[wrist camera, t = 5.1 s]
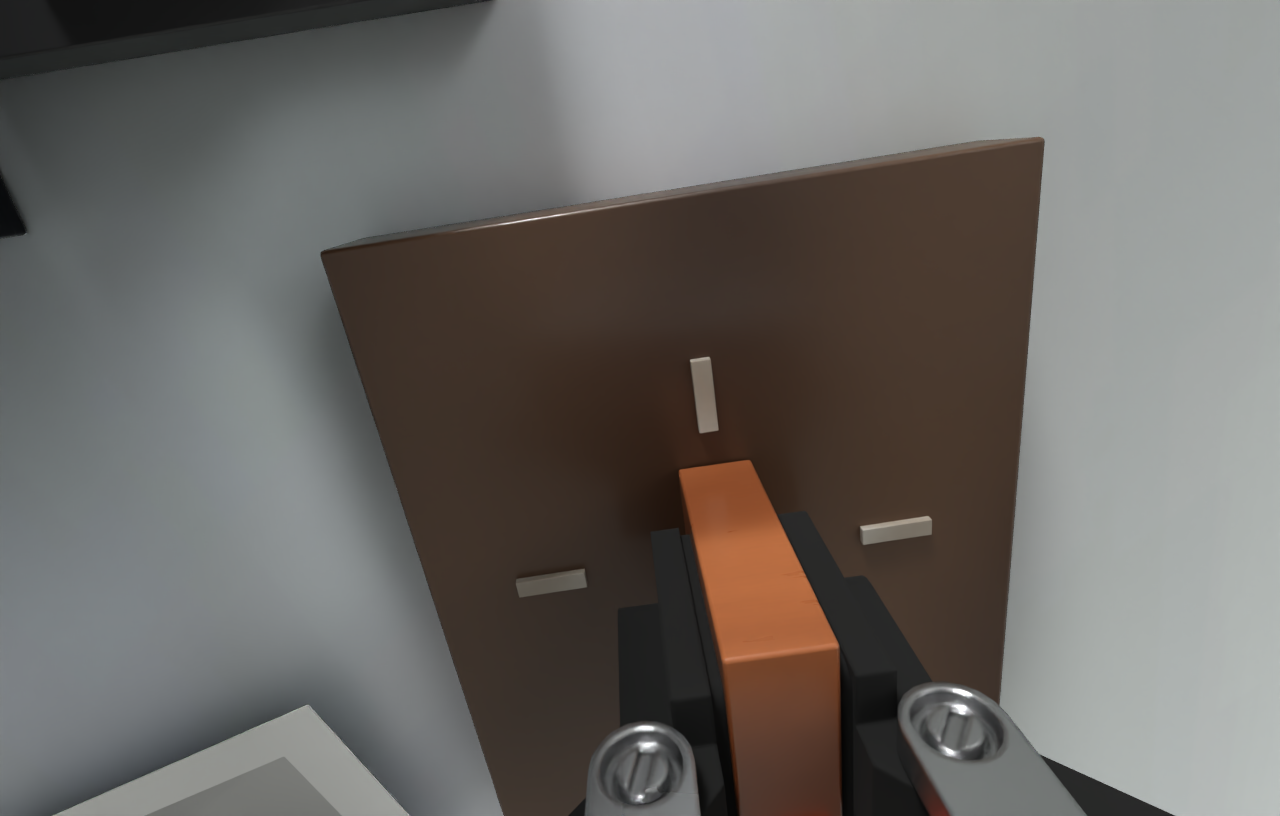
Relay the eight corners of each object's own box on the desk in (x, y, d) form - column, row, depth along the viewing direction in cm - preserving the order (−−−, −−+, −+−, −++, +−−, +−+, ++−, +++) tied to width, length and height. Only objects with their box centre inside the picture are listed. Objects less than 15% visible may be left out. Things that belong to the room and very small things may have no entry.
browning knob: (677, 468, 12) (725, 677, 7) (750, 458, 12) (848, 660, 7) (698, 643, 14) (749, 913, 9) (763, 633, 14) (851, 898, 9)
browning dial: (979, 140, 12) (1053, 135, 10) (954, 694, 17) (1000, 765, 15) (361, 238, 12) (312, 252, 10) (518, 759, 17) (506, 838, 15)
